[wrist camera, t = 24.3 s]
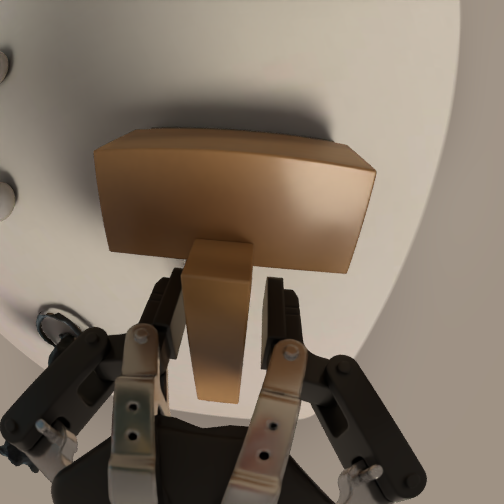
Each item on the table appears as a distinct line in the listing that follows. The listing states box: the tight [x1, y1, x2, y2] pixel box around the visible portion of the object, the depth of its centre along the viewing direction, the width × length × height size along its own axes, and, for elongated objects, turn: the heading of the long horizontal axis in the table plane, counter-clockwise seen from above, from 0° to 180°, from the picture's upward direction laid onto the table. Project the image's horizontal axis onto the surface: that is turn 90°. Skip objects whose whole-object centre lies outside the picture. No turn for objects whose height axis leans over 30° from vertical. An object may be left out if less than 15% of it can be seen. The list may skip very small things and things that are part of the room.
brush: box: [94, 127, 376, 404], centre depth 12 cm, size 11×9×7 cm
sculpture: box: [0, 313, 82, 473], centre depth 16 cm, size 8×11×15 cm
